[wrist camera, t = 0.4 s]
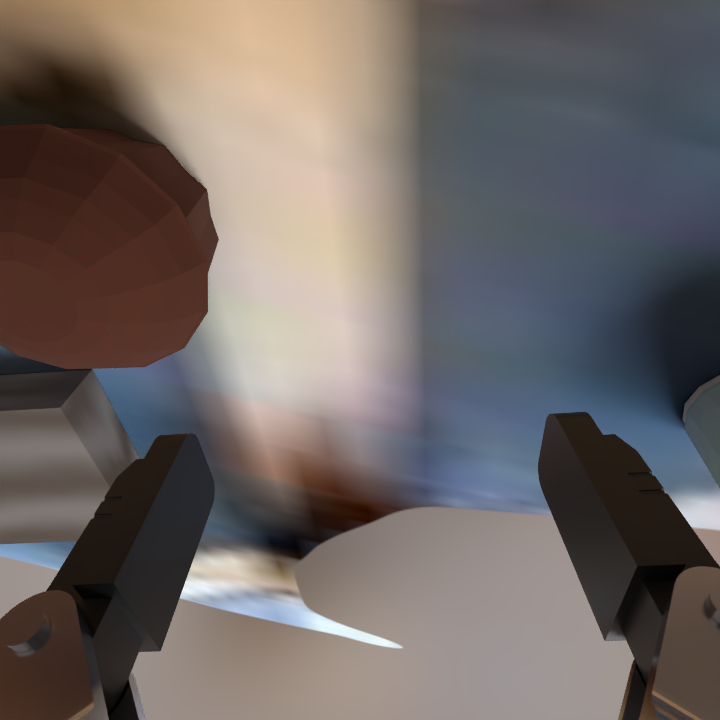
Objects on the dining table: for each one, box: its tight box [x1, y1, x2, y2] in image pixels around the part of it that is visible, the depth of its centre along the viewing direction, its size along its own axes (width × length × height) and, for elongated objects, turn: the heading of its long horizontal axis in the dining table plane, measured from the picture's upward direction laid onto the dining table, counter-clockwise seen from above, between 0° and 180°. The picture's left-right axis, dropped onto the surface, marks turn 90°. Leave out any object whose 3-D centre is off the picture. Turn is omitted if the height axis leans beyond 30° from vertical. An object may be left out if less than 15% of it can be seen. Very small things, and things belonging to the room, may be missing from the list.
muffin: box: [0, 123, 219, 369], centre depth 21 cm, size 12×11×10 cm
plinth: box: [0, 370, 140, 544], centre depth 34 cm, size 14×14×4 cm
